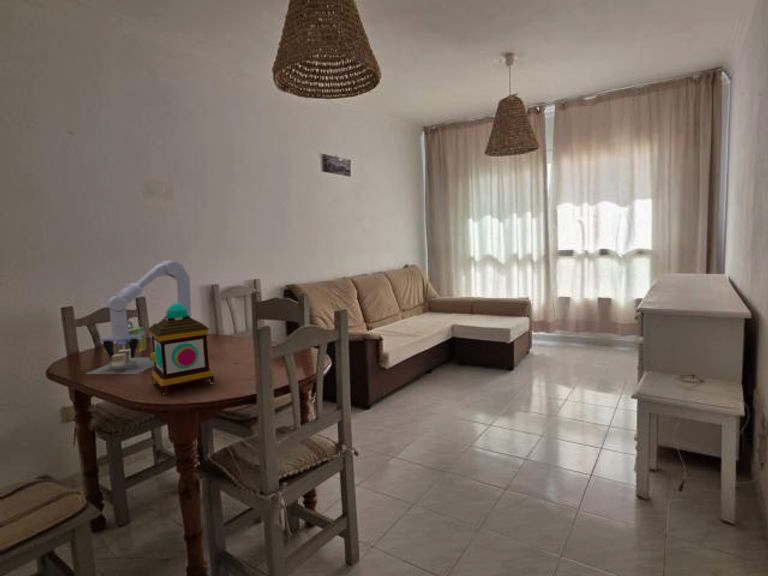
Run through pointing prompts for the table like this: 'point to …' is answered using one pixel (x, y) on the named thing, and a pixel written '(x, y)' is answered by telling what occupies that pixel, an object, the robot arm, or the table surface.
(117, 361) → the beam
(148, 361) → the mat
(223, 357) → the table surface
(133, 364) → the fulcrum
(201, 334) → the decorative lantern
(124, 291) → the robot arm
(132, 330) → the chalk box
